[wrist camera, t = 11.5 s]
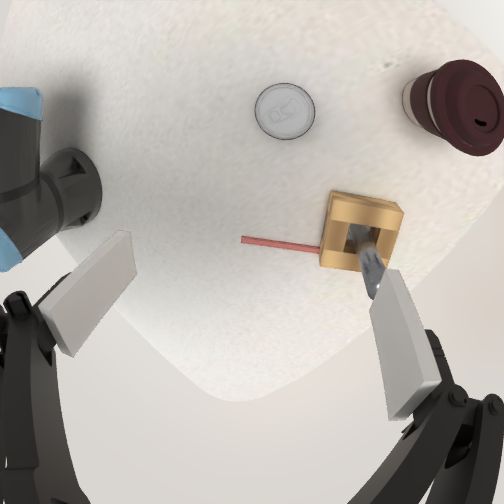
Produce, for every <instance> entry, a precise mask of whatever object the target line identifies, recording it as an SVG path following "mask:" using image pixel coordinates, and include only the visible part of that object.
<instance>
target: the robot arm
mask: <svg viewBox="0 0 504 504" xmlns="http://www.w3.org/2000/svg"><path fill="white" fill-rule="evenodd" d="M42 119H43V118H42V93H41V92H40V90H39V89H37V88H33V87H2V88H0V272H7V271H9V270H10V269H11V268H13V267H14V266H15V265H17V264H18V263H21V262H22V261H23V260H24V259H25V258H26V257H27V256H28V255H30V254H31V253H32V252H33V251H35V250H36V249H37V248H38V247H39V246H41V245H42V244H43V243H45V242H46V241H47V240H48V239H50V238H51V237H52V236H54V235H55V234H56V233H58V232H59V231H63V230H68V229H72V228H77V227H81V226H83V225H85V224H86V223H88V222H89V221H91V220H92V219H93V218H94V217H95V216H96V214H97V213H98V211H99V208H100V205H101V199H102V189H101V183H100V178H99V175H98V173H97V170H96V168H95V166H94V164H93V163H92V161H91V160H90V159H89V158H88V157H87V156H86V155H85V154H84V153H83V152H81V151H79V150H77V149H73V148H68V149H64V150H61V151H58V152H56V153H54V154H53V155H52V156H50V157H49V158H48V159H47V160H46V161H45V162H44V163H43V164H42V165H41V166H40V132H41V121H42ZM136 275H137V272H136V266H135V261H134V255H133V248H132V242H131V235H130V232H127V231H120V230H119V231H117V232H116V233H115V234H114V235H113V236H111V237H110V238H109V239H108V240H107V241H106V242H104V243H103V244H102V245H101V246H100V247H99V248H98V249H96V250H95V251H94V252H93V253H92V254H91V255H90V256H89V257H87V258H86V259H85V260H84V261H83V262H82V263H81V264H80V265H79V266H78V267H77V268H76V269H74V271H72V272H70V273H68V274H66V275H65V276H63V277H61V278H60V279H59V280H58V281H57V282H56V283H55V285H53V286H52V287H51V289H50V290H48V291H47V292H46V293H45V294H44V295H43V296H42V297H41V298H40V299H39V300H38V302H37V303H36V304H35V305H33V307H32V306H31V303H30V301H29V299H28V297H27V294H26V293H25V292H24V291H16V292H13V293H11V294H10V295H9V296H8V297H7V298H6V299H5V300H4V302H3V305H4V307H5V309H6V311H7V313H5V311H4V309H3V307H2V306H1V305H0V349H1V352H0V504H3V501H4V502H5V504H91V503H90V501H89V500H88V498H87V496H86V495H85V494H84V493H83V491H82V490H81V488H80V487H79V484H78V481H77V478H76V475H75V471H74V468H73V464H72V460H71V457H70V452H69V448H68V445H67V439H66V434H65V429H64V424H63V418H62V412H61V406H60V399H59V391H58V380H57V368H56V354H55V350H54V348H53V347H54V346H55V345H56V343H57V345H58V347H59V348H60V350H61V352H62V353H65V354H66V355H69V356H71V357H74V356H75V354H76V353H77V352H78V350H79V349H80V347H81V346H82V345H83V343H84V342H85V340H86V339H87V338H88V336H89V335H90V334H91V332H92V331H93V330H94V328H95V327H96V326H97V324H98V323H99V322H100V320H101V319H102V318H103V316H104V315H105V314H106V313H107V311H108V310H109V308H110V307H111V306H112V305H113V304H114V302H115V301H116V300H117V299H118V297H119V296H120V295H121V294H122V292H123V291H124V290H125V289H126V287H127V286H128V285H129V284H130V282H131V281H132V280H133V279H134V278H135V276H136ZM369 313H370V317H371V321H372V326H373V330H374V335H375V339H376V345H377V349H378V355H379V360H380V366H381V371H382V377H383V383H384V389H385V396H386V403H387V411H388V419H389V421H398V420H406V419H407V417H409V416H410V414H412V413H413V418H414V421H413V422H412V423H411V424H409V425H408V426H407V427H406V428H405V429H404V430H403V431H402V433H404V432H405V433H404V434H403V436H402V437H401V439H400V440H399V442H398V443H397V444H396V446H395V447H394V448H393V450H392V451H391V453H390V454H389V455H388V457H387V458H386V459H385V460H384V462H383V463H382V464H381V466H380V467H379V468H378V469H377V471H376V472H375V473H374V474H373V475H372V477H371V478H370V479H369V480H368V481H367V483H366V484H365V485H364V486H363V487H362V488H361V489H360V490H359V492H358V493H357V494H356V495H355V496H354V497H353V498H352V499H351V500H350V501H349V502H348V503H347V504H418V503H419V502H420V501H421V499H422V497H423V496H424V494H425V493H426V491H427V490H428V488H429V486H430V485H431V483H432V482H433V480H434V482H433V485H432V487H431V490H430V493H429V495H428V498H427V501H426V503H425V504H492V501H493V497H494V493H495V489H496V484H497V479H498V474H499V468H500V462H501V456H502V448H503V438H504V403H503V401H502V399H501V398H500V397H499V396H497V395H496V394H489V395H487V396H486V397H485V398H484V399H483V400H482V401H480V400H476V399H472V398H469V397H468V394H467V393H466V391H465V390H464V389H463V388H462V387H461V386H459V385H456V384H455V383H454V380H453V377H452V374H451V371H450V369H449V365H448V363H447V360H446V357H444V356H445V354H444V352H443V349H442V346H441V344H440V341H439V339H438V337H437V336H436V335H435V334H434V332H433V331H432V330H426V329H424V328H423V325H422V322H421V320H420V317H419V315H418V312H417V310H416V307H415V305H414V303H413V301H412V298H411V296H410V293H409V291H408V289H407V287H406V284H405V282H404V280H403V278H402V276H401V274H400V271H399V270H393V269H386V268H385V271H384V274H383V277H382V280H381V282H380V285H379V287H378V290H377V293H376V295H375V298H374V300H373V303H372V305H371V308H370V310H369ZM6 458H7V467H6V468H5V466H6V465H5V464H6ZM434 478H435V479H434Z"/></svg>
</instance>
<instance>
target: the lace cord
mask: <svg viewBox="0 0 504 504" xmlns="http://www.w3.org/2000/svg"><path fill="white" fill-rule="evenodd" d="M241 243H247V244H254V245H261V246H268V247H276V248H283V249H290V250H296V251H303V252H310V253H317V254H319V251H320V247H314V246H308V245H301V244H294V243H287V242H280V241H273V240H266V239H258V238H251V237H244V236H242V238H241Z"/></svg>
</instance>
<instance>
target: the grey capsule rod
mask: <svg viewBox="0 0 504 504" xmlns="http://www.w3.org/2000/svg"><path fill="white" fill-rule="evenodd" d="M349 233H350V236H351V239H352V242H353V245H354V248H355V251H356V255H357V258H358V261H359V265H360V268H361V271H362V275H363V278H364V282H365V285H366V289H367V293H368V296H369V297H370V298H371V299H372V300H374V298H375V295H376V293H377V290H378V287H379V285H380V282H381V280H382V277H383V274H384V271H385V266H384V263H383V261H382V259H381V256H380V254H379V252H378V250H377V247H376V245H375V243H374V241H373V239H372V236H371V234H370V232H369V230H368V228H367V226H366V225H361V224H355V223H351V224H350V226H349Z"/></svg>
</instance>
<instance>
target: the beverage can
mask: <svg viewBox="0 0 504 504" xmlns="http://www.w3.org/2000/svg"><path fill="white" fill-rule="evenodd" d="M255 117H256V120H257V122H258V124H259V126H260V127H261V129H262V130H263V131H264V132H265V133H267V134H268V135H270V136H272V137H274V138H277V139H281V140H291V139H295V138H298V137H300V136H302V135H303V134H305V133H306V132H307V131H308V130H309V129H310V127H311V126H312V124H313V121H314V118H315V107H314V103H313V101H312V99H311V97H310V96H309V95H308V93H307V92H306V91H305V90H303V89H302V88H300V87H298V86H296V85H293V84H289V83H279V84H275V85H272V86H270V87H268V88H267V89H265V90H264V91H263V92H262V93H261V94H260V96H259V97H258V99H257V101H256V105H255Z"/></svg>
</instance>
